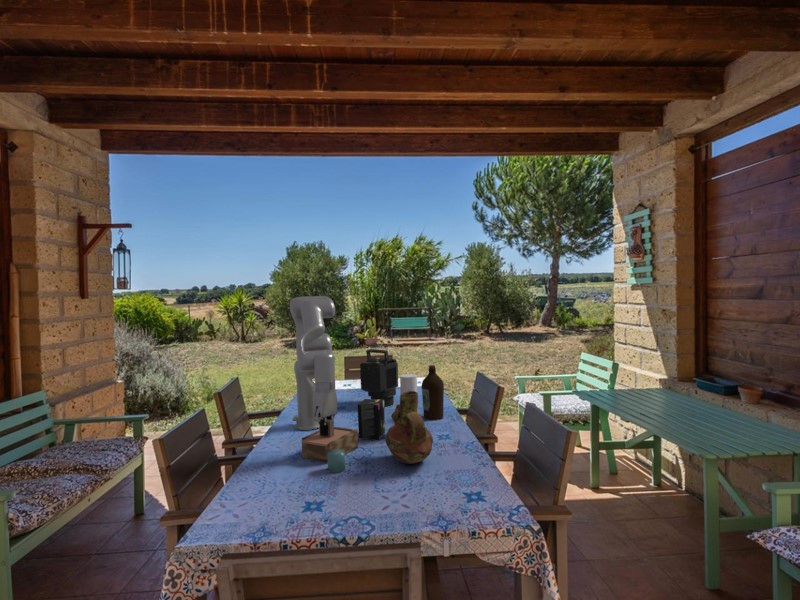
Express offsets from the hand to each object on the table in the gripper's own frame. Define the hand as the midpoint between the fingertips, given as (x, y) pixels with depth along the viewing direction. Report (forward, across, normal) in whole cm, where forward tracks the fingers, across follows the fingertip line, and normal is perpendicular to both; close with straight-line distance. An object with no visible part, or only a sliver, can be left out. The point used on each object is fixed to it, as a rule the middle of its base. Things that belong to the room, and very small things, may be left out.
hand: (326, 433), depth 176 cm
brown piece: (+2, 0, 0) cm, 2 cm away
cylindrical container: (+8, -34, +18) cm, 40 cm away
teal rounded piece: (+8, +11, +12) cm, 18 cm away
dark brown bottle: (+8, -61, +17) cm, 64 cm away
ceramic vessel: (+8, -7, +31) cm, 33 cm away
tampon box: (+8, -26, +4) cm, 28 cm away
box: (+8, -2, 0) cm, 8 cm away
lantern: (+8, -73, -19) cm, 76 cm away
